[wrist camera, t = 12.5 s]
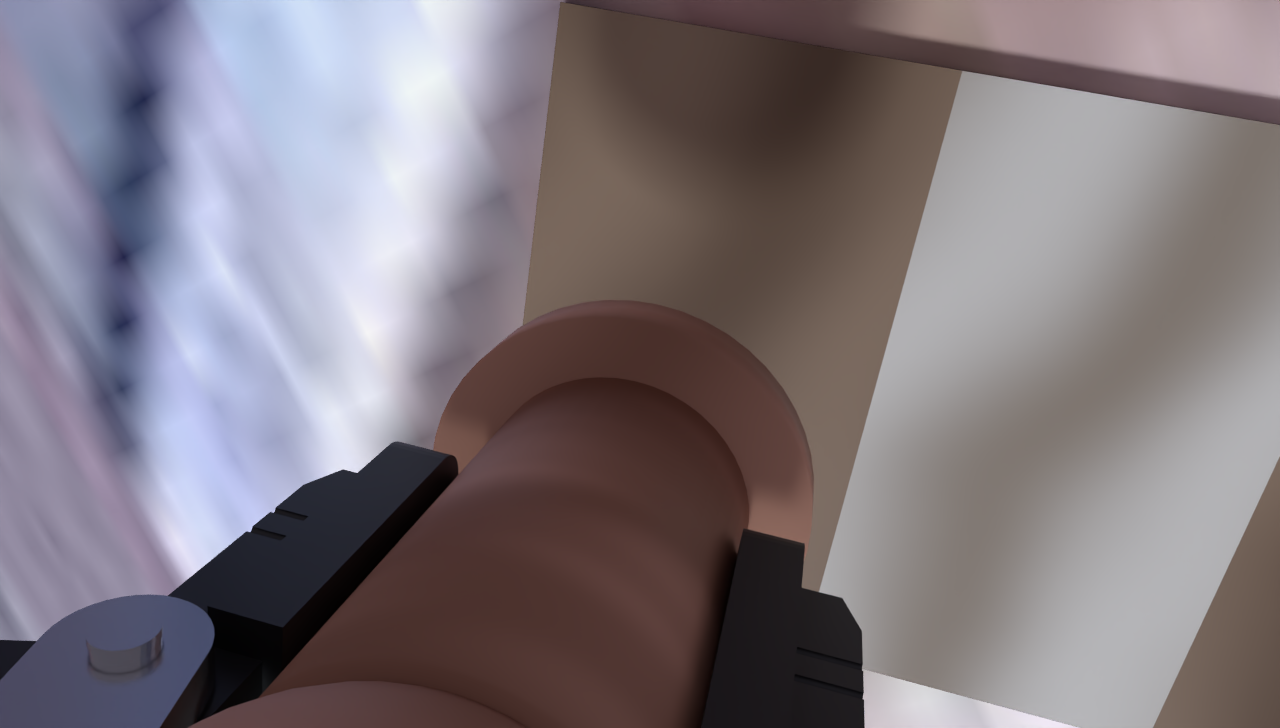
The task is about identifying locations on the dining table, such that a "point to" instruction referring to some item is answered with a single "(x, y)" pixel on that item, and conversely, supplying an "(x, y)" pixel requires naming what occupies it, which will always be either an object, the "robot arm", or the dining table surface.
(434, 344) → the dining table surface
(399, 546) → the pawn
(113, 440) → the dining table surface
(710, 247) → the brown and white panel
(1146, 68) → the dining table surface
